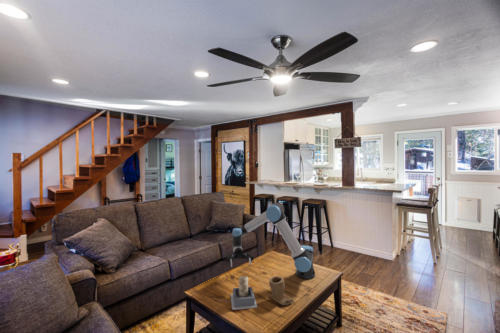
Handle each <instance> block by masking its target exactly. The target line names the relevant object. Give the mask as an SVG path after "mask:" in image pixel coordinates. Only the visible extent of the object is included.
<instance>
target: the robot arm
mask: <svg viewBox="0 0 500 333" xmlns="http://www.w3.org/2000/svg"><path fill="white" fill-rule="evenodd" d="M268 221H269V222H271V223H272V225H274V226H276V228H277V230H278V231H279V233H280V235H281V236H282V238H283V240H284V242H285V244H286V246H287V247H288V249H289V251H290V252H291V258H292V260H293V262H294V267H295V269H296V270H295V275H296V276H297V277H298V278H300V279H303V280H311V279H314V278H315V277H316V272H315V269H314V247H313V246H310V245H304V244H303V245H301V244H300V242H299V241H298V239H297V237H296V236H295V234H294V232H293V230H292V228H291V226H290V225H289V223H288V221H287V216H286V215H285V206H284V205H283V204H282V203H280V202H278V201H277V202H274V203H272V204H271V205H269V206H268V207H267V209H266V211H264V212H262V213H261V214H259V215H257V216H256V217H255V218H253V219H251V220H250V221H248V222H247V223H245V224H244V225H242V226H240V227H236V228H233V229H232V233H231V234H232V247H231V249H232V251H233V254H232V253H230V254H229V255H228V256H227V257H226V259H225V262H226V263H228V264H229V265H230V267H231V268H233V261H235V260H237V259H238V260H240V259H243V260H247V261H248V263H249V265H250V266H252V262H253V261H254V260H255V258H254V256H253V255H251V254H249V253H248V252H246V253H244V249H243V246H242V245H243V243H242V242H243V241H242V240H243V239H242V238H243V237H244V236H246V235H247V234H249V233H250V232H252V231H254V230H256V229H257V228H258V227H260V226H262V225H263V224H265V223H266V222H268Z"/></svg>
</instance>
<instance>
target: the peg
mask: <svg viewBox="0 0 500 333" xmlns="http://www.w3.org/2000/svg"><path fill="white" fill-rule="evenodd" d="M248 287H249V277H248V276H246V275H240V276H239V277H238V288H239V298H242V297H248Z"/></svg>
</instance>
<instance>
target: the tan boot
mask: <svg viewBox="0 0 500 333" xmlns="http://www.w3.org/2000/svg"><path fill="white" fill-rule="evenodd" d="M268 281H269V282H268V283H269V286H270V289H271V292H272V293H271V294H270V295H269V296H270V298H271V299H272V300H273V301H274V302H276V303H278V304H279V305H282V306H288V305H291V304H292V303H293V302H294V301H295V299H294V298H292V297H290V295H287V294H286V293H285V287H286V285H285V279H284V278H283V277H282V276H278V275H276V276H271V277H270V279H269V280H268Z"/></svg>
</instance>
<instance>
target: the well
mask: <svg viewBox="0 0 500 333" xmlns="http://www.w3.org/2000/svg"><path fill="white" fill-rule="evenodd" d="M254 293H255V292H254V291H253V287H252V286H248V297H242V298H239V287H233V288H232V293H231V294H230V301H231V310H232V311H234V310H235V311H236V310H247V309H256V308H258V304H257V301H256V297H255V294H254Z"/></svg>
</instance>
